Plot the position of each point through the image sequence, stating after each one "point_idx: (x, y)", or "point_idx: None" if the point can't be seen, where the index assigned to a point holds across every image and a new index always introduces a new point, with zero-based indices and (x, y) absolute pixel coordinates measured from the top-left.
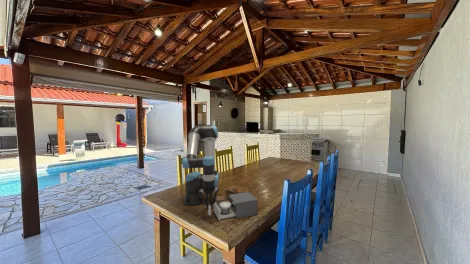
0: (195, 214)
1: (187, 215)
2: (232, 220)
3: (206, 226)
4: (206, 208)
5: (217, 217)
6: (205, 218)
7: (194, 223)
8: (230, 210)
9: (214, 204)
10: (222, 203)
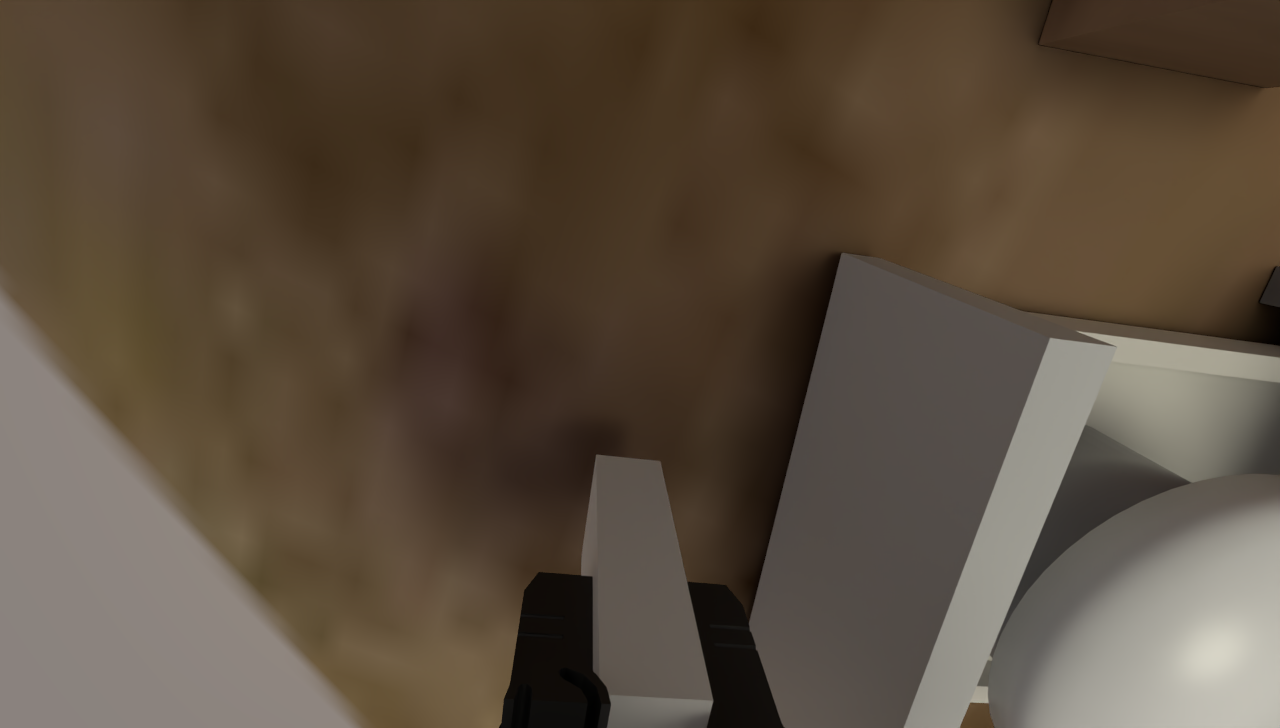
0: (285, 101)
1: (4, 28)
2: (965, 722)
3: (449, 720)
4: (520, 621)
5: (765, 588)
6: (513, 449)
7: (214, 541)
8: (1196, 469)
9: (962, 406)
10: (1221, 649)
